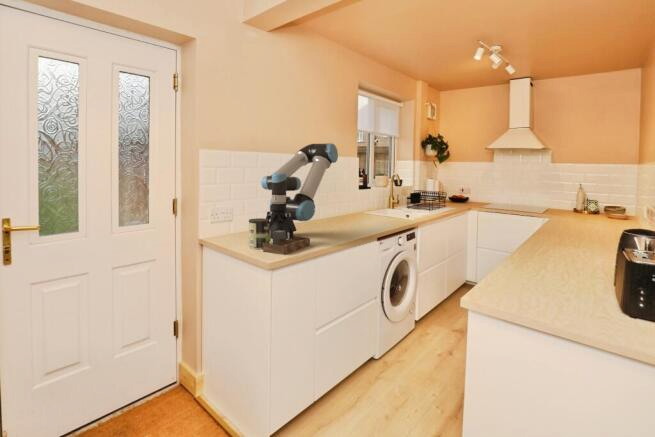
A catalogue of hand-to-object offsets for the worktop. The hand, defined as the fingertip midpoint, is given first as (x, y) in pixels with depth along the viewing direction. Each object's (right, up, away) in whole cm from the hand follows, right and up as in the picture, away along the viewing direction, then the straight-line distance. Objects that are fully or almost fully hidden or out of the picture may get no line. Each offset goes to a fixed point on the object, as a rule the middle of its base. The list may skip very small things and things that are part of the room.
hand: (278, 243), depth 192 cm
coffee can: (-9, -2, -7) cm, 11 cm away
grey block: (0, -1, 0) cm, 1 cm away
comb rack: (+5, -2, -9) cm, 11 cm away
